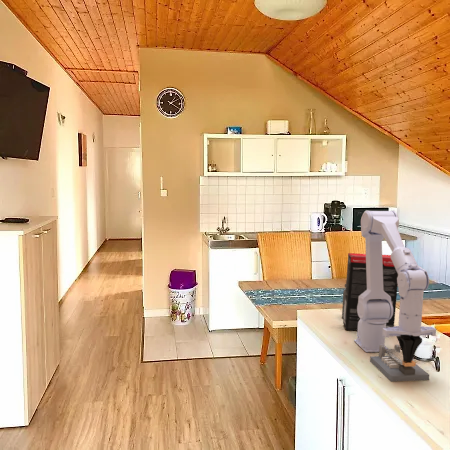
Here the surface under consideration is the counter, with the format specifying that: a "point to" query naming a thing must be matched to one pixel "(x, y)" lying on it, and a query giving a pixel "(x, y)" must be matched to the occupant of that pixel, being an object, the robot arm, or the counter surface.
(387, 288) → the graphics card box
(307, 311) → the counter surface
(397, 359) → the orange-ended grey bar
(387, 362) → the heatsink base
